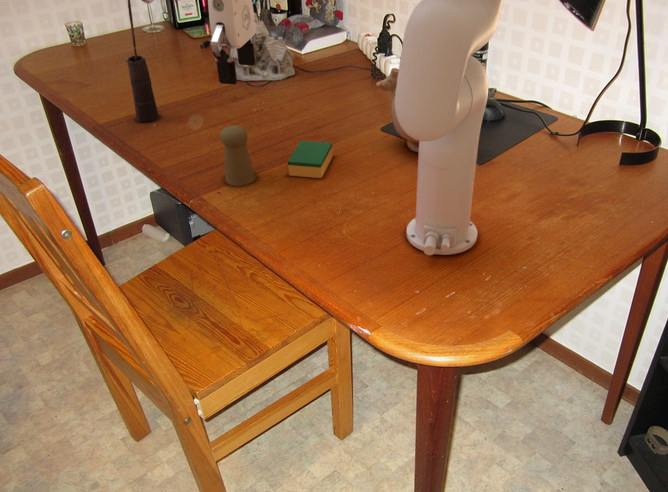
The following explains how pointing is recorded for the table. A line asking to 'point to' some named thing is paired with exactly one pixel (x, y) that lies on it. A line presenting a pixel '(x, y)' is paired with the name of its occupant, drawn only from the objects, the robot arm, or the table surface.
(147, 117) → the butter churn
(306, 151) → the sponge
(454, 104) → the robot arm
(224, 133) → the pawn
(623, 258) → the table surface
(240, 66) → the ceramic cottage
